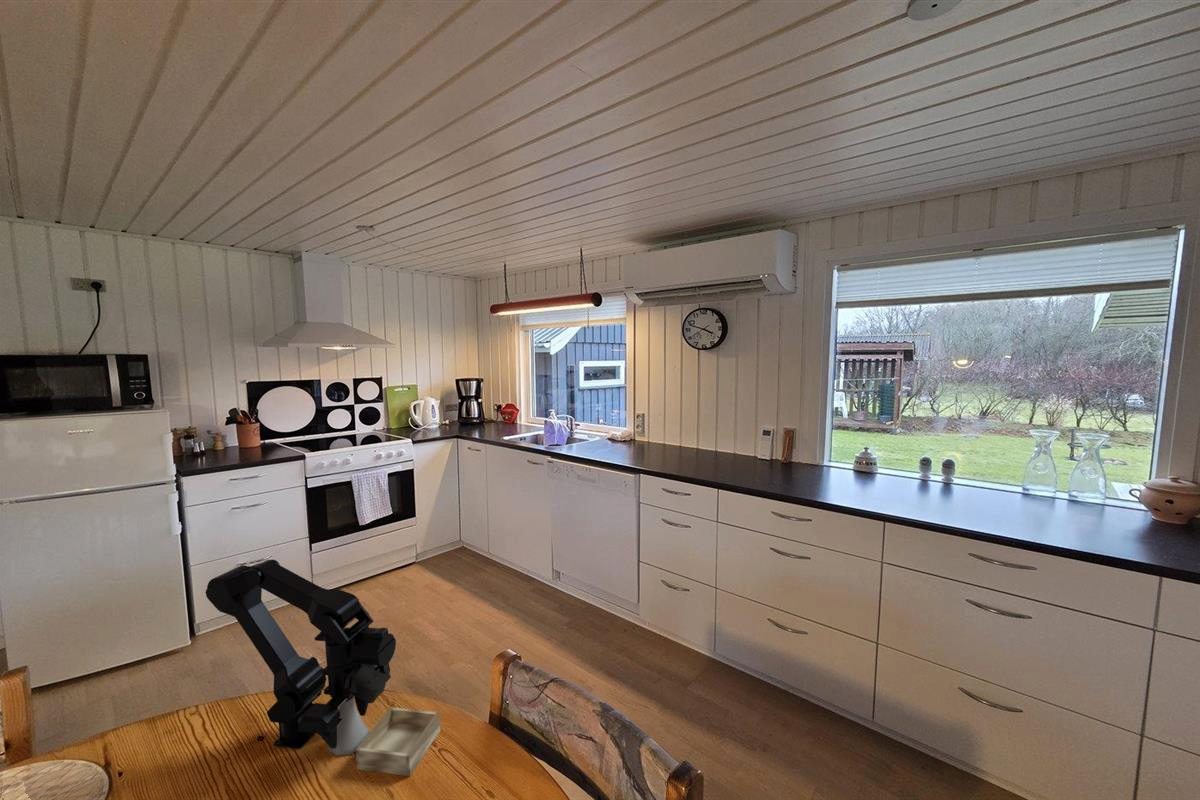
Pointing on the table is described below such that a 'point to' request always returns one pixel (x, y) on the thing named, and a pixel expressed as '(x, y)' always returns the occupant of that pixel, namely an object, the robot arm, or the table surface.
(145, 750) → the table surface
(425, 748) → the crate
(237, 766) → the table surface
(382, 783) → the table surface
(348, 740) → the flask
